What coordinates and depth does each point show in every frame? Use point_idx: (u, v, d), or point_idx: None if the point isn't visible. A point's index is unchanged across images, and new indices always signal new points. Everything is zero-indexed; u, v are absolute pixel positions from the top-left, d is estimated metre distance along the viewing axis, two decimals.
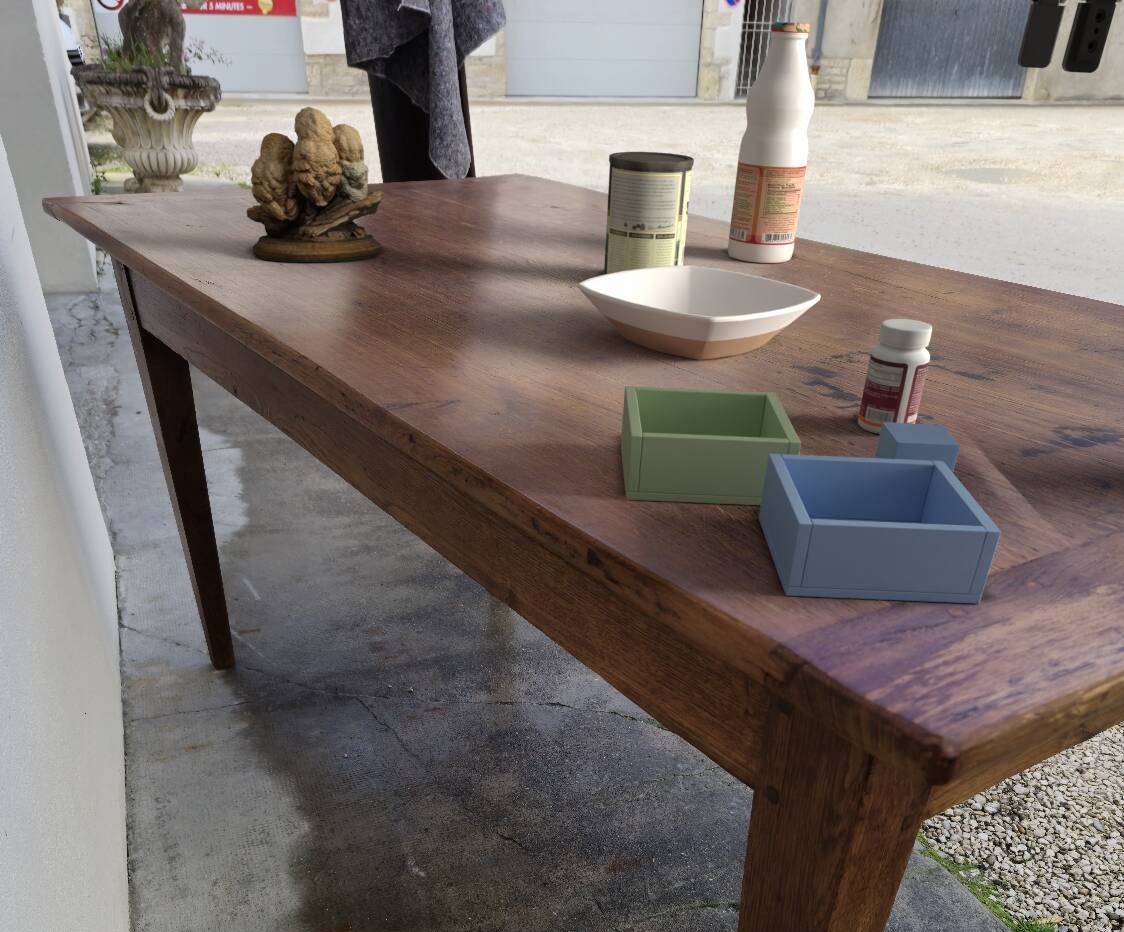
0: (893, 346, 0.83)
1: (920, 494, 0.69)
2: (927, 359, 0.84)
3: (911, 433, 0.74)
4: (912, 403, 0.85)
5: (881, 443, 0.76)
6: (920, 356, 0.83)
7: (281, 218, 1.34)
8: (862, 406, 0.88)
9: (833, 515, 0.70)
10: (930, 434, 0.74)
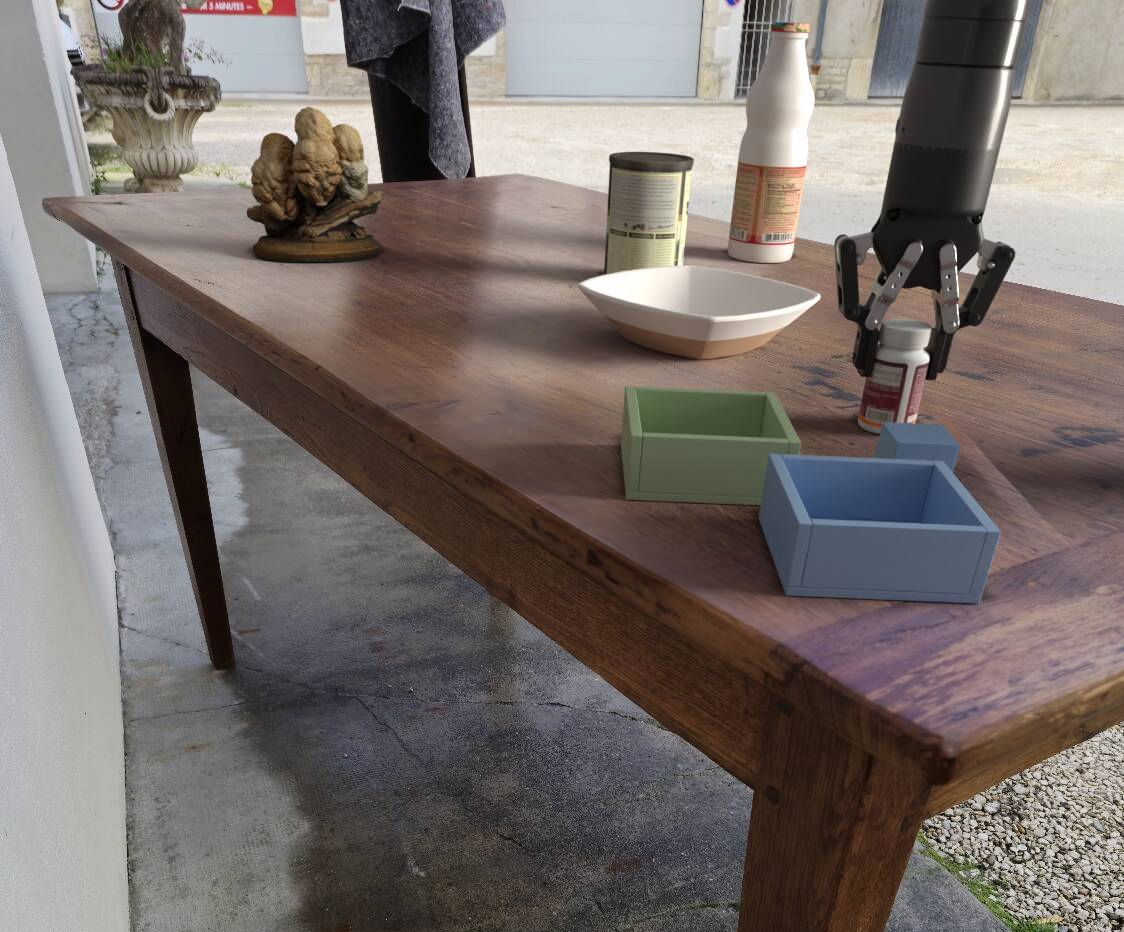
0: (893, 346, 0.83)
1: (920, 494, 0.69)
2: (927, 359, 0.84)
3: (911, 433, 0.74)
4: (912, 402, 0.85)
5: (881, 443, 0.76)
6: (920, 356, 0.83)
7: (281, 218, 1.34)
8: (862, 406, 0.88)
9: (833, 515, 0.70)
10: (930, 434, 0.74)
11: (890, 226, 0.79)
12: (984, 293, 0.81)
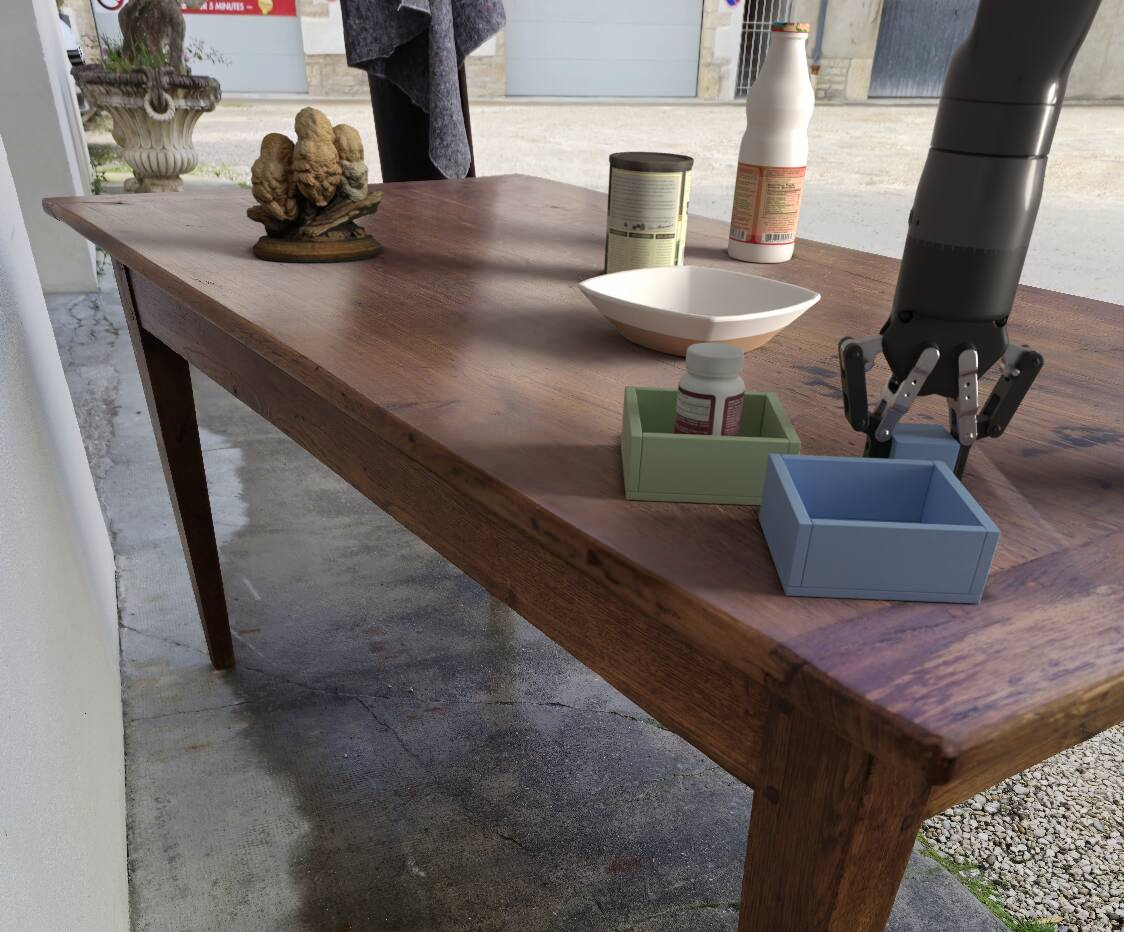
0: (699, 375, 0.72)
1: (920, 494, 0.69)
2: (739, 389, 0.73)
3: (911, 433, 0.74)
4: None
5: None
6: (730, 386, 0.72)
7: (281, 218, 1.34)
8: None
9: (833, 515, 0.70)
10: (930, 434, 0.74)
11: (901, 329, 0.69)
12: (1007, 402, 0.71)
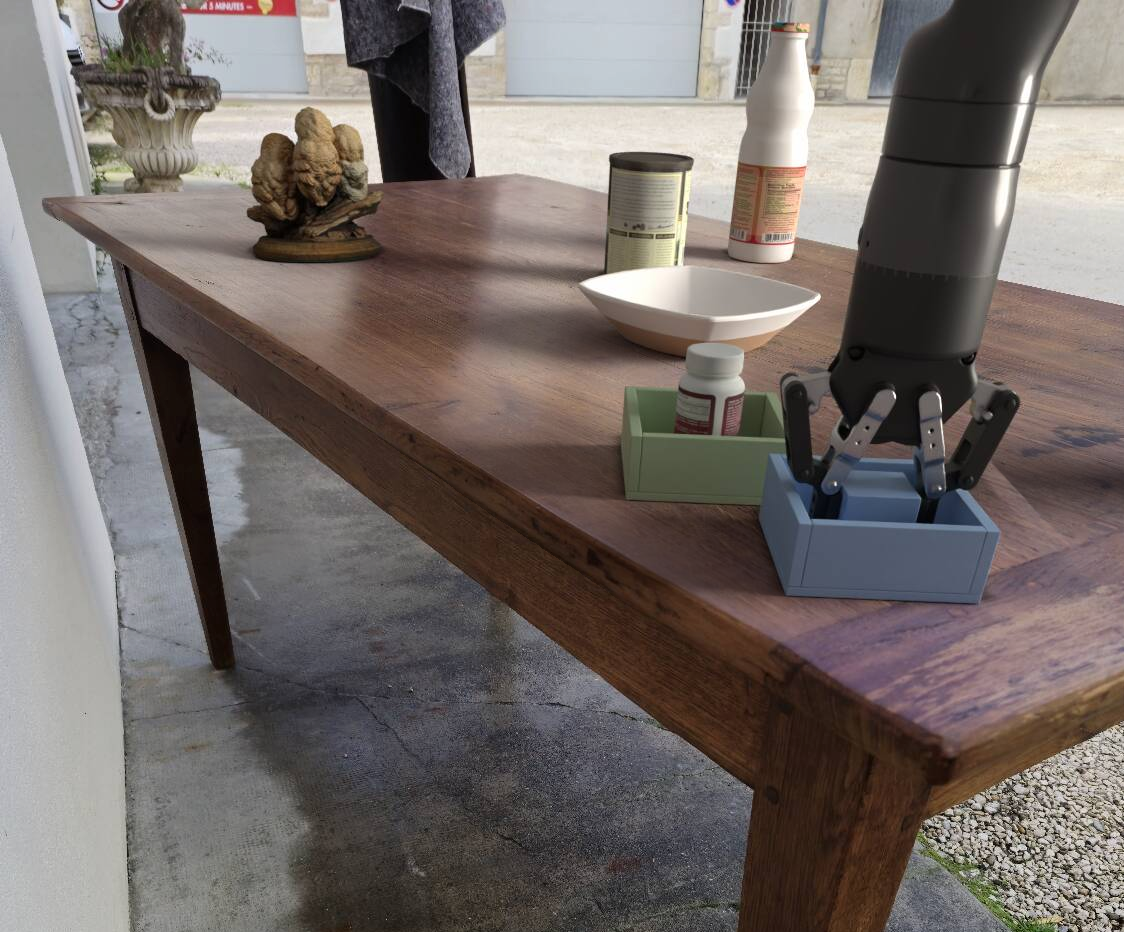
0: (699, 375, 0.72)
1: None
2: (739, 389, 0.73)
3: (865, 484, 0.63)
4: None
5: None
6: (730, 386, 0.72)
7: (281, 218, 1.34)
8: None
9: None
10: (888, 484, 0.64)
11: (852, 367, 0.59)
12: (979, 450, 0.61)
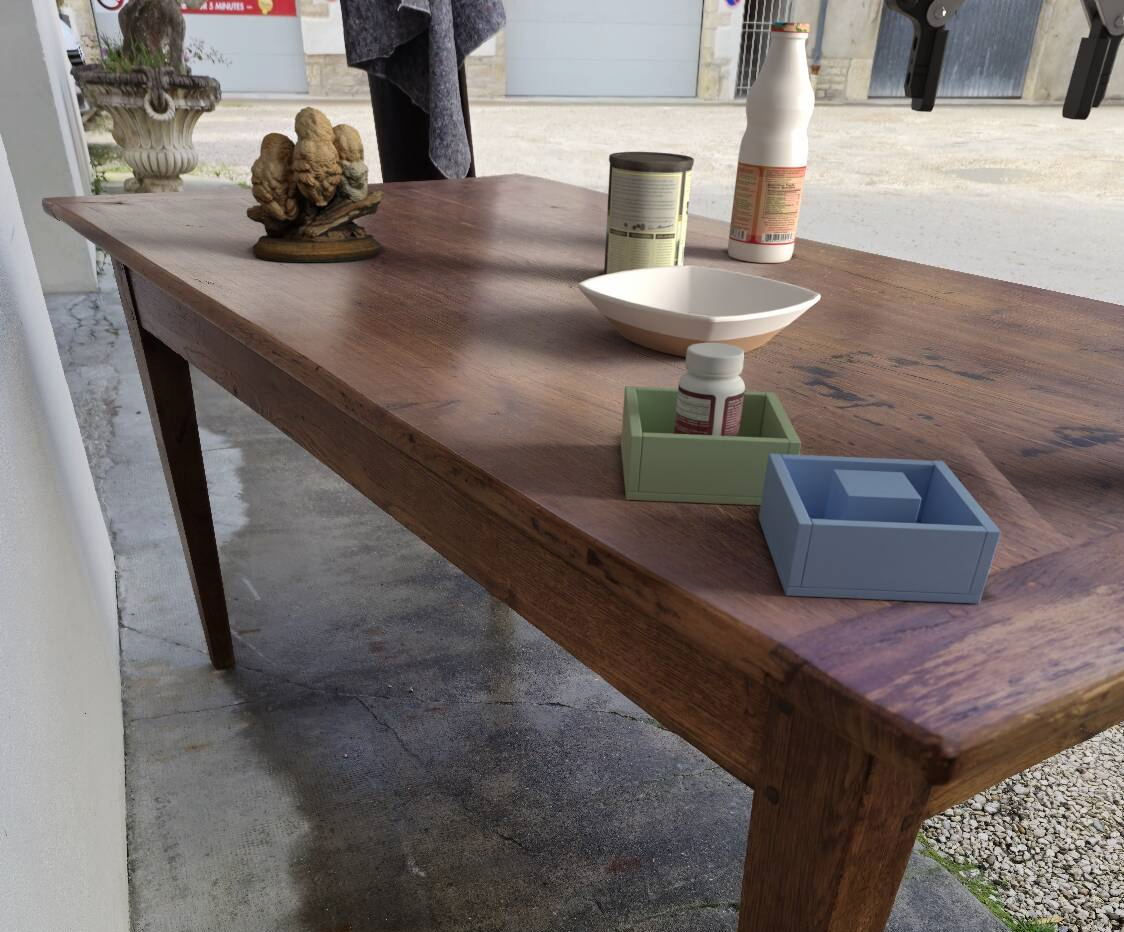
0: (699, 375, 0.72)
1: (920, 494, 0.69)
2: (739, 389, 0.73)
3: (865, 484, 0.63)
4: None
5: (832, 493, 0.65)
6: (730, 386, 0.72)
7: (281, 218, 1.34)
8: None
9: None
10: (888, 484, 0.64)
11: None
12: None
